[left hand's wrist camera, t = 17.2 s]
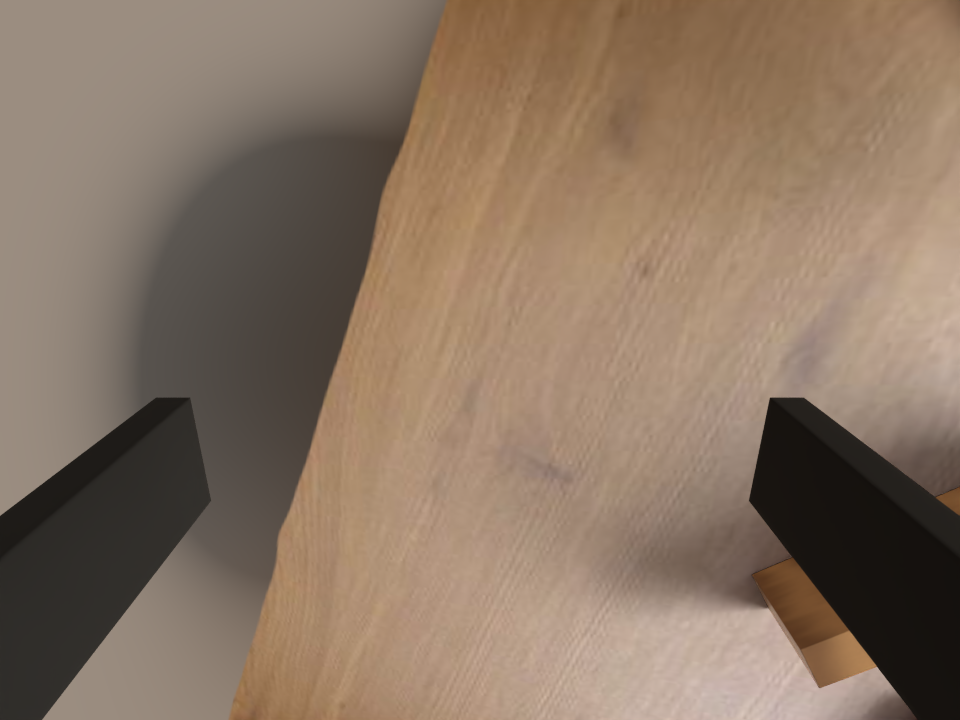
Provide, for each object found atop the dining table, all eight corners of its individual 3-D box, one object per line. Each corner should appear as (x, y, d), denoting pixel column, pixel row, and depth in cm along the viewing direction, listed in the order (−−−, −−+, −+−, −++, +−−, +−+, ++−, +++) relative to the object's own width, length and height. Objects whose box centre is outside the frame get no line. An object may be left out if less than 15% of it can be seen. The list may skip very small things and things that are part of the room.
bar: (1053, 447, 48) (1168, 506, 40) (1064, 489, 50) (1176, 554, 42) (751, 574, 53) (800, 649, 45) (769, 609, 54) (819, 688, 46)
